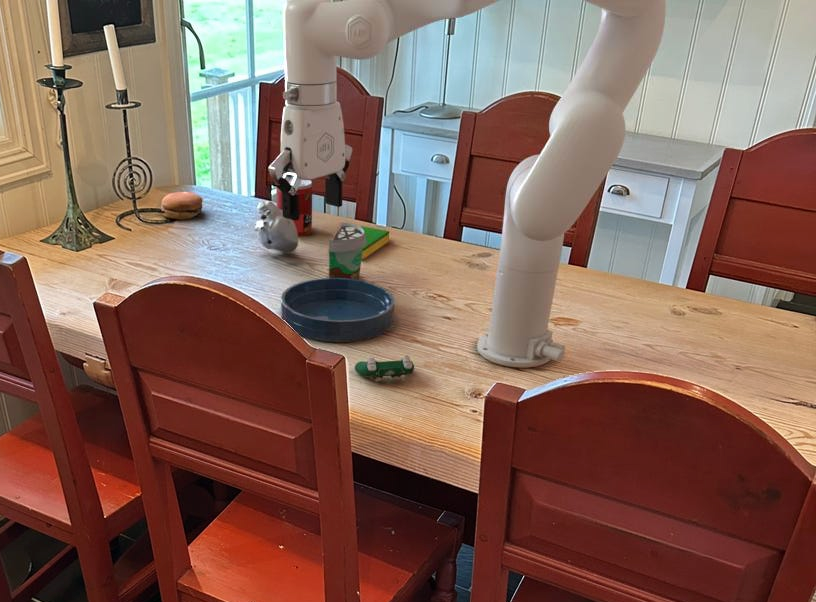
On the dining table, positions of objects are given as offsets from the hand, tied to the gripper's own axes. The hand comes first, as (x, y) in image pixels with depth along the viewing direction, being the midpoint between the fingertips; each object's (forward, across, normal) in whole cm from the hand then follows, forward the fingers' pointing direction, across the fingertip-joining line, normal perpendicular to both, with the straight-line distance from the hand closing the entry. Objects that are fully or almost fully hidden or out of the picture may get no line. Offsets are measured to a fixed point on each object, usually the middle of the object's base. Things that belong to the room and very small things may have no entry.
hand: (312, 211), depth 134 cm
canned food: (+21, +38, +43) cm, 61 cm away
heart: (+21, +24, +33) cm, 46 cm away
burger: (+21, +28, +70) cm, 78 cm away
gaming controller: (+22, -3, -18) cm, 29 cm away
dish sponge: (+22, +41, +25) cm, 53 cm away
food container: (+22, +24, +13) cm, 35 cm away
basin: (+22, +8, +3) cm, 23 cm away
